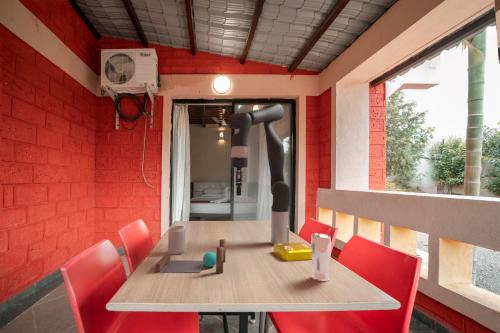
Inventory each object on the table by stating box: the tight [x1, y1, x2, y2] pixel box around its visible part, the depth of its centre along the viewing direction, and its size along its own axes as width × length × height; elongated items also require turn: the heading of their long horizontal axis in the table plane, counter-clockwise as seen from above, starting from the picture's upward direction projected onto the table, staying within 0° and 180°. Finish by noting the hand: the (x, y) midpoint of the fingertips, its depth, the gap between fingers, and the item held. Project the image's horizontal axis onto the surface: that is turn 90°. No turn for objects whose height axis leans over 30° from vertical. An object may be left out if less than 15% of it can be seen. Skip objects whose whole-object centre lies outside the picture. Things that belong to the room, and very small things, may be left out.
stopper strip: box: [155, 252, 172, 274], centre depth 106 cm, size 2×14×3 cm, turn 1°
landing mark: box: [160, 259, 205, 274], centre depth 106 cm, size 14×14×1 cm
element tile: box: [273, 242, 312, 262], centre depth 124 cm, size 15×15×5 cm
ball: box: [202, 251, 216, 268], centre depth 106 cm, size 6×6×6 cm
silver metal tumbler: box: [310, 233, 332, 282], centre depth 96 cm, size 7×7×15 cm
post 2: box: [215, 246, 224, 275], centre depth 100 cm, size 3×3×9 cm
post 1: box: [218, 238, 227, 264], centre depth 113 cm, size 3×3×9 cm
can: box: [167, 225, 186, 256], centre depth 125 cm, size 8×8×12 cm
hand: (238, 195), depth 122 cm, fingers closed
